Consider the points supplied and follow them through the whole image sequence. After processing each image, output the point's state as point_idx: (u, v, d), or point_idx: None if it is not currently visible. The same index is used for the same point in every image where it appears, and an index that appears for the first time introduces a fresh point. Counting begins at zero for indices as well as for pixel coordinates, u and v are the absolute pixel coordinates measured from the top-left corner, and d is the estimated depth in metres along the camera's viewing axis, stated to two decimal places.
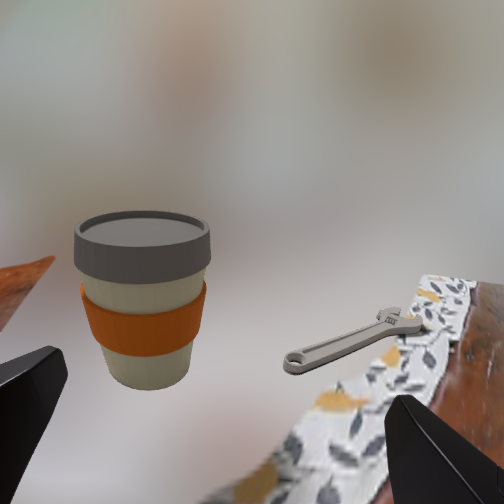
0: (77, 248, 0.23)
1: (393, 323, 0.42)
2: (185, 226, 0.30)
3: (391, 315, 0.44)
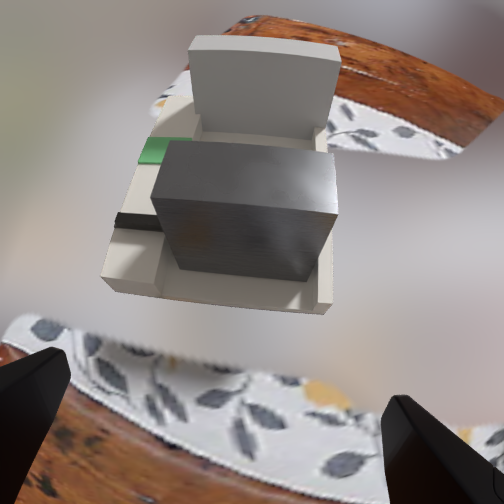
0: None
1: None
2: None
3: None
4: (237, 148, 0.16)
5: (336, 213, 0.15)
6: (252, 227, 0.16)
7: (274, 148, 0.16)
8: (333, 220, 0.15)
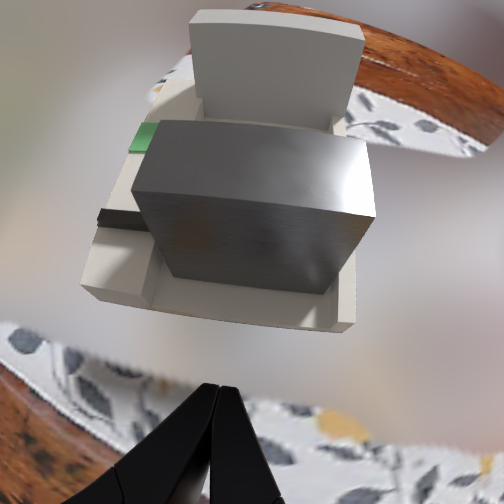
0: None
1: None
2: None
3: None
4: (245, 130, 0.13)
5: (373, 216, 0.11)
6: (263, 231, 0.13)
7: (292, 131, 0.13)
8: (368, 224, 0.11)
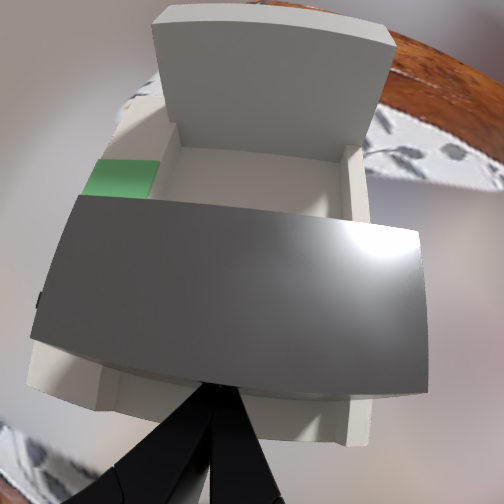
0: None
1: None
2: None
3: None
4: (212, 219, 0.07)
5: (424, 391, 0.06)
6: (243, 390, 0.08)
7: (295, 219, 0.07)
8: (411, 394, 0.06)
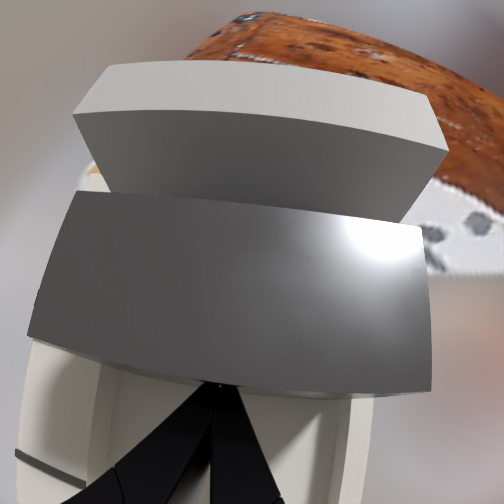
0: None
1: None
2: None
3: None
4: (211, 214, 0.07)
5: (427, 390, 0.06)
6: (243, 389, 0.07)
7: (296, 215, 0.07)
8: (414, 393, 0.06)
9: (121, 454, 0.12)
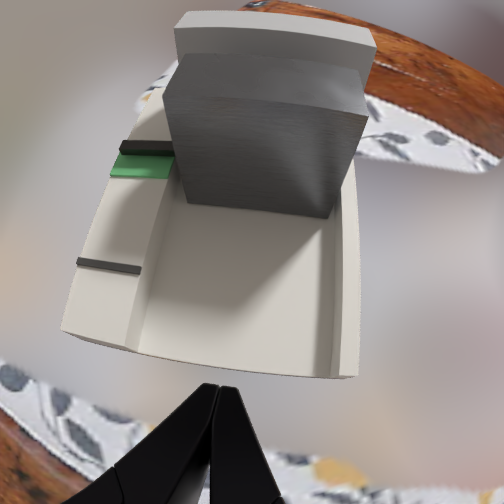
0: None
1: None
2: None
3: None
4: (258, 59, 0.14)
5: (366, 115, 0.12)
6: (273, 134, 0.14)
7: (296, 61, 0.14)
8: (363, 125, 0.13)
9: (168, 263, 0.19)
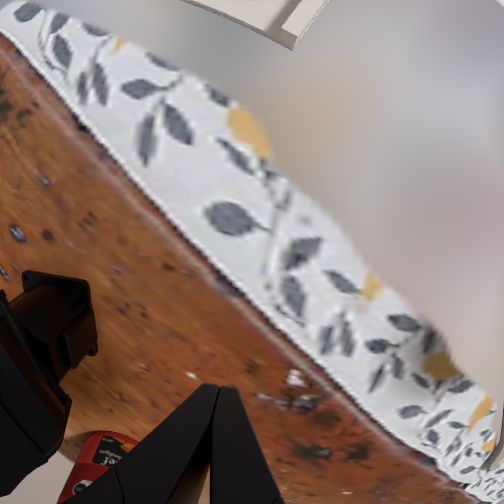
0: None
1: None
2: None
3: None
4: None
5: None
6: None
7: None
8: None
9: None
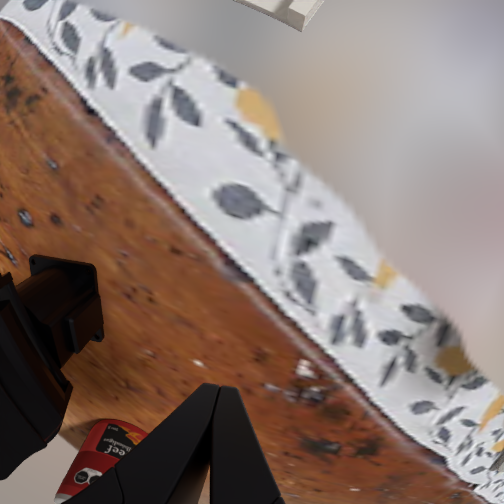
0: None
1: None
2: None
3: None
4: None
5: None
6: None
7: None
8: None
9: None
